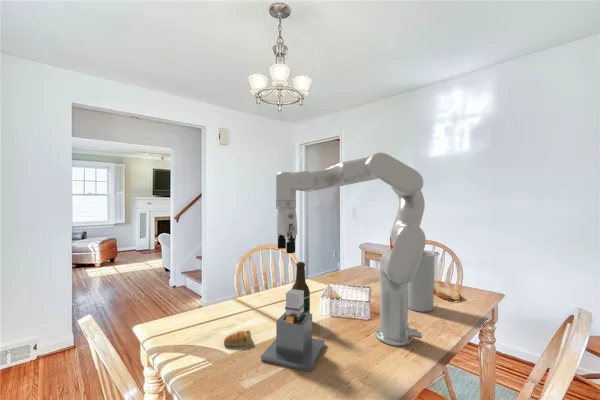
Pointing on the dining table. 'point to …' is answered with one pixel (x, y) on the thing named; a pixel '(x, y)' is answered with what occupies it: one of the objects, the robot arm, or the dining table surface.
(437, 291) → the slice of bread
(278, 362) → the stand
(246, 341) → the pastry
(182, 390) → the dining table surface
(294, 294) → the column
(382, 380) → the dining table surface
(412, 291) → the cylinder vase
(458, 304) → the dining table surface
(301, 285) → the beer bottle
